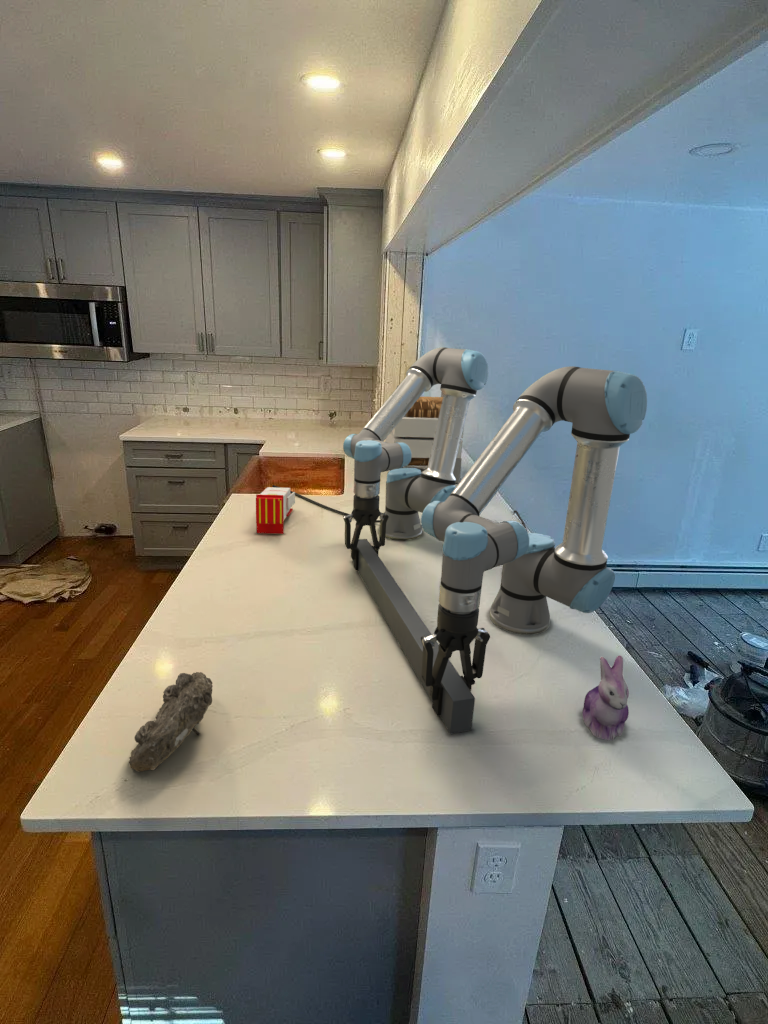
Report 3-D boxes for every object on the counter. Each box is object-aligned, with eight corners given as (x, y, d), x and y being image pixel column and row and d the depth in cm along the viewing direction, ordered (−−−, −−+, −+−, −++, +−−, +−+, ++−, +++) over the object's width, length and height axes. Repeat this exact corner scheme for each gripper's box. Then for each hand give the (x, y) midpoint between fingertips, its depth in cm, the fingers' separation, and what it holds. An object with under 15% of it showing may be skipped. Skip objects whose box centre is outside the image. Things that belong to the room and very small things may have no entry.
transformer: (382, 463, 289) (386, 382, 275) (445, 464, 293) (451, 384, 279) (390, 482, 257) (394, 392, 243) (460, 483, 261) (468, 394, 247)
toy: (297, 482, 219) (286, 496, 190) (297, 516, 222) (286, 535, 193) (265, 481, 219) (249, 495, 189) (265, 515, 221) (250, 534, 192)
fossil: (162, 673, 113) (214, 640, 108) (196, 704, 116) (248, 673, 111) (102, 765, 93) (163, 730, 88) (145, 799, 96) (206, 767, 91)
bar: (352, 561, 176) (352, 539, 174) (366, 560, 178) (366, 538, 175) (449, 734, 106) (453, 701, 104) (471, 730, 108) (475, 697, 105)
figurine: (608, 750, 104) (623, 681, 99) (567, 715, 113) (579, 651, 107) (643, 734, 108) (659, 668, 103) (601, 702, 117) (614, 640, 112)
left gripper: (339, 500, 158) (338, 575, 166) (399, 497, 163) (395, 570, 171) (334, 492, 164) (333, 565, 172) (391, 489, 169) (388, 560, 177)
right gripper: (421, 620, 99) (413, 729, 106) (511, 610, 104) (497, 714, 111) (407, 600, 105) (400, 703, 113) (492, 591, 110) (480, 691, 118)
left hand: (364, 567), depth 171 cm, fingers closed on bar, 4 cm apart
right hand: (448, 709), depth 112 cm, fingers closed on bar, 4 cm apart
